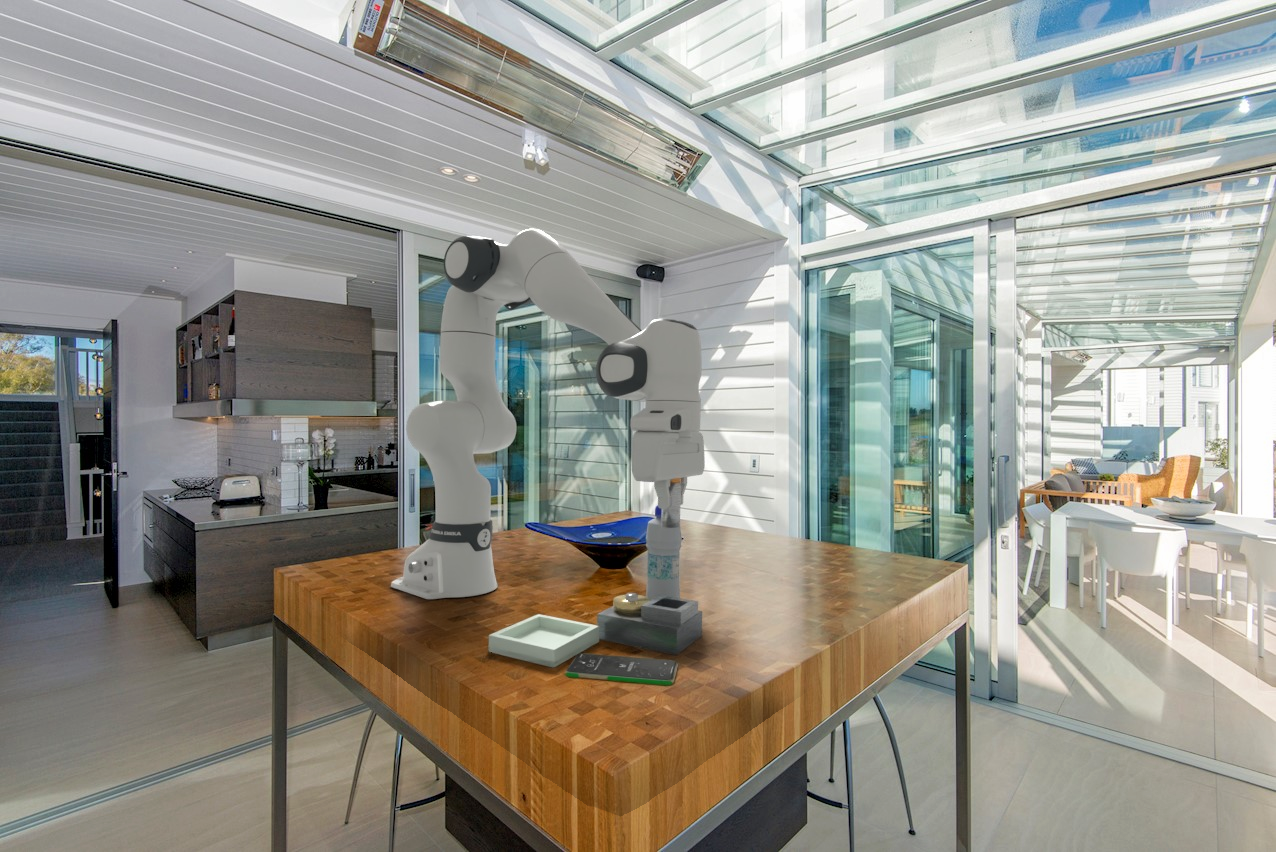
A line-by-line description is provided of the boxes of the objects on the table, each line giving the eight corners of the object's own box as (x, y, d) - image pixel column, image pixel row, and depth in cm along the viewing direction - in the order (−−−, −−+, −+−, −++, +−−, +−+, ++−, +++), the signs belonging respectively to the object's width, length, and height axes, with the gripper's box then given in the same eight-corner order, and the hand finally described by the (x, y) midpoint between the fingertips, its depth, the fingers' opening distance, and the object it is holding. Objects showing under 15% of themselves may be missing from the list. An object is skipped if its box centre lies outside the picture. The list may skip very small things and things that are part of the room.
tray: (488, 651, 90) (488, 635, 90) (538, 628, 100) (538, 614, 100) (553, 667, 84) (554, 649, 84) (598, 641, 94) (599, 625, 95)
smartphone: (673, 681, 79) (563, 672, 81) (673, 689, 79) (563, 679, 81) (678, 659, 86) (578, 651, 89) (678, 666, 86) (577, 658, 89)
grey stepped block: (596, 638, 96) (597, 598, 96) (627, 621, 105) (627, 585, 105) (676, 655, 89) (677, 612, 89) (701, 635, 98) (702, 596, 98)
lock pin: (658, 526, 95) (659, 473, 95) (666, 524, 98) (667, 472, 98) (675, 528, 93) (676, 474, 94) (682, 525, 96) (684, 473, 96)
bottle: (678, 619, 106) (679, 506, 107) (641, 616, 108) (642, 505, 108) (683, 608, 113) (684, 502, 113) (648, 605, 114) (649, 501, 114)
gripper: (681, 421, 106) (679, 499, 106) (624, 418, 88) (622, 512, 88) (714, 421, 103) (712, 501, 103) (663, 419, 85) (660, 516, 85)
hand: (670, 506), depth 96 cm, fingers closed on lock pin, 3 cm apart
